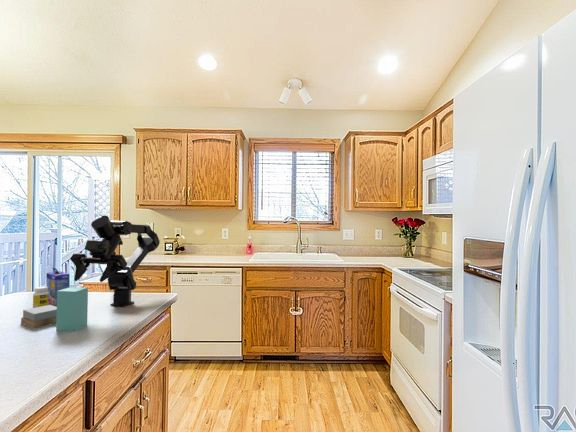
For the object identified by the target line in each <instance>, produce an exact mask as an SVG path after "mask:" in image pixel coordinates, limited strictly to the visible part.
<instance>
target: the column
mask: <svg viewBox="0 0 576 432" xmlns="http://www.w3.org/2000/svg"><path fill="white" fill-rule="evenodd" d="M88 301H89V288H88V287H80V286H79V287H77V286H70V287H69V288H66V289H62V290H59V291H57V305H56V307H57V318H56V323H55V324H56V325H55V327H56V329H55V330H56V332H72V331H74V332H77V331H80V329H83V328H85V327H87V326H88V311H89V310H88V309H89V307H88V306H89V305H88V304H89V302H88Z"/></svg>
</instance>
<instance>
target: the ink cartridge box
mask: <svg viewBox="0 0 576 432" xmlns="http://www.w3.org/2000/svg"><path fill="white" fill-rule="evenodd" d="M52 270H53V271H51V272H46V287H48V291H47V292H48V293H49V296H48V304H50V305H52V306H57V291H59V290H62V289H66V288H69V287H71V284H70V283H71V281H70V273H67V272H64V271H58V269H57V268H56V267H52Z"/></svg>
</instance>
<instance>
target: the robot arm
mask: <svg viewBox="0 0 576 432" xmlns="http://www.w3.org/2000/svg"><path fill="white" fill-rule="evenodd" d="M90 226H91V227H92V229H93V231H94V232H95V234H96V235H97V236H98V237H99V238H100V239H102V240H94V239H93V240H90V239H88V240H86V242H85V245H84V250H85V251H88V252H89V253H88V254H89V255H90V256H91V257H88V256H87V255H86V254H85V253H73V254H72V255H71V257H70V258H69V259H70V261H71V262H72V264H73V265H74V266H75V273H74V282H77V281H78V280H80V279H81V278H82V276H83V275H84V274H85V273H86V272H87V271H88V268H89V267H90V265H91V264H98V265H106V267H105V269H104V270H103V273H102V274H101V276H100V278H99V282H100V283H103V282H104V281H106V280H107V283H108V289H109V290H110V291H113V295H112V296H113V299H112V301H113V303H110V306H111V307H112V306H114V307H127V306H129V305H132V304H134V303H135V301H133V300H132V291H134V290H135V289H136V287H137V282H136V280H135V279H134V272H135V271H136V269H138V267H139V266H140V265H141V263H142V262H143V261H144V259H145V258H146V257H147V255H148V254H149V253H152V252H154V251H155V250H156V249H157V248H158V247H159V245H160V238H159V236H158V234H157V233H156V232H155V231H154V230H152V227H151V226H150V225H149V224H133V223H132V222H130V221H128V220H110V217H109V216H108V215H101V217H98V218H96V219H94V220H93V221H92V222H91V224H90ZM130 234H137V238H136V240H137V242H138V243H137V245H138V247H137V248H136V249H135V251H134V252H133V253H132V254H131V256H130V257H129V258H128V259H127V260H126V259H125V257H124V256H123V254H116V253H117V252H116V249H117V247H118V246H120V245H121V246H122V245H123V244H124V243H123V242H124V241H123V239H122V237H121V236H129V235H130ZM144 234H146V235H144Z"/></svg>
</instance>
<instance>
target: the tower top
mask: <svg viewBox="0 0 576 432" xmlns="http://www.w3.org/2000/svg"><path fill="white" fill-rule="evenodd" d="M22 317H23V318H26V319H28V320H31V321H33V322H35V321H40V320H44V319H49V318H53V317H57V306H56V305H53V304H48V305H47V306H42V307H36V308H33V307H32V308H27V309H23V310H22Z"/></svg>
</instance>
